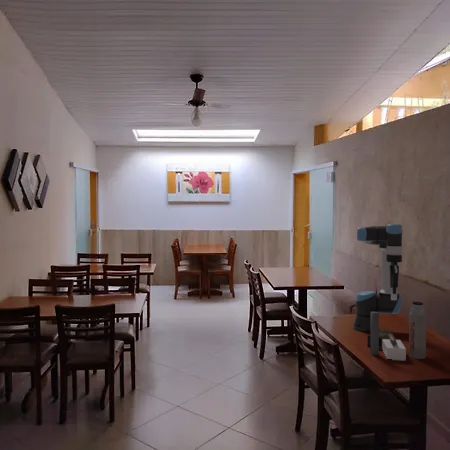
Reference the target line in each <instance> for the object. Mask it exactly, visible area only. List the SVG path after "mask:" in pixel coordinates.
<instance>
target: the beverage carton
mask: <svg viewBox="0 0 450 450" xmlns="http://www.w3.org/2000/svg"><path fill="white" fill-rule="evenodd" d="M393 333H394V332H393V330H387V329H384V328H381V329H379V350H382V339H389V338H388V335H389V334H393ZM393 335H394V334H393ZM366 346H367V347H369V348H371V333H370V334H369V335H367V345H366Z"/></svg>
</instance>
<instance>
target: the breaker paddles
mask: <svg viewBox="0 0 450 450" xmlns="http://www.w3.org/2000/svg"><path fill="white" fill-rule="evenodd" d="M388 338H389V340H390V342H391V344H392V345H397V342H396V340H397V339H396V338H395V336H394V334H389V335H388Z"/></svg>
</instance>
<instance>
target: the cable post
mask: <svg viewBox="0 0 450 450" xmlns="http://www.w3.org/2000/svg"><path fill="white" fill-rule="evenodd" d="M379 314H380V313H379V312H371V332H370V334H371V347H369V348H370V355H371V356H375V355H377V356H379V355H378V354H379V350H380V349H379V330H380V329H379V328H380V327H379V325H380V322H379V321H380V315H379Z"/></svg>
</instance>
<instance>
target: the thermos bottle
mask: <svg viewBox="0 0 450 450" xmlns="http://www.w3.org/2000/svg"><path fill="white" fill-rule="evenodd" d="M411 306H412V307H410V312H408V334H409V335H408V357H410V358H412V359H417V360H423V359H426V357H427V356H426V355H427V349H426V348H427V314H426V313H425V312H426V311H425V308H423V307H424V303H423V302H421V301H412V305H411Z"/></svg>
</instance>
